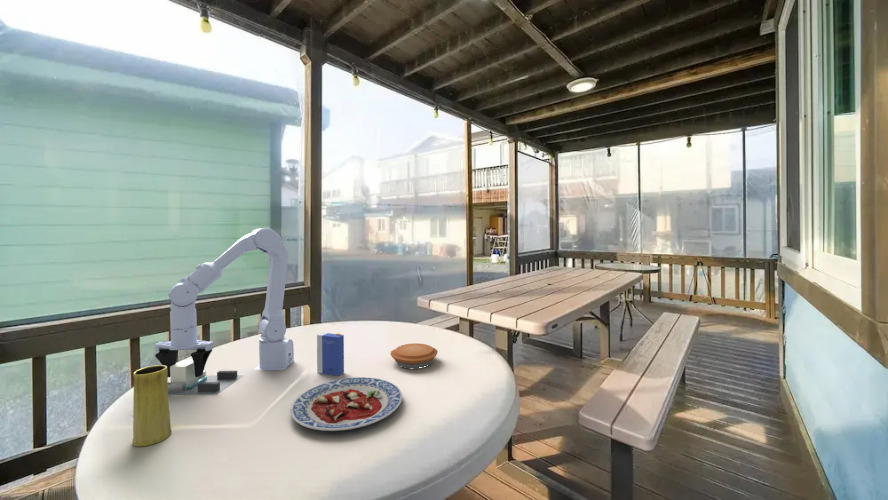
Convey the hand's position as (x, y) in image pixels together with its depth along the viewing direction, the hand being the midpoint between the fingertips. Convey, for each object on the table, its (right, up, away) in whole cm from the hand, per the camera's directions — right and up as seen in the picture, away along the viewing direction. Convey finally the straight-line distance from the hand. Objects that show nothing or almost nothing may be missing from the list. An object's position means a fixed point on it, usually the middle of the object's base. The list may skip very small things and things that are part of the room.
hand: (185, 375), depth 93 cm
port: (0, -2, 0) cm, 2 cm away
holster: (+9, -2, 0) cm, 9 cm away
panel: (+5, -3, 0) cm, 5 cm away
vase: (+12, -4, -24) cm, 27 cm away
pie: (+62, -3, +18) cm, 64 cm away
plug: (0, -2, 0) cm, 2 cm away
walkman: (+37, -3, +10) cm, 38 cm away
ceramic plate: (+48, -4, -11) cm, 50 cm away
